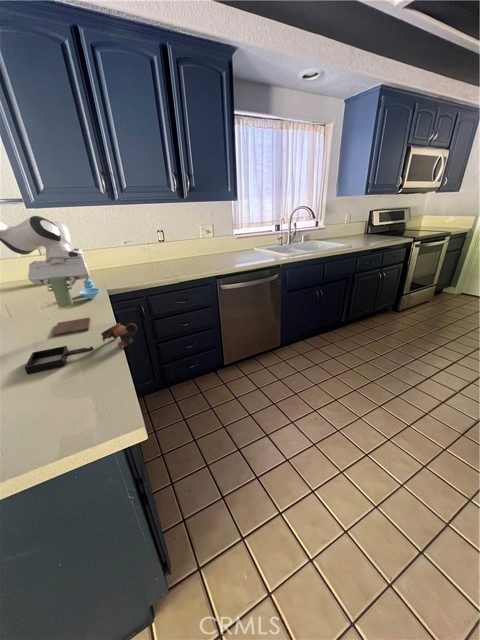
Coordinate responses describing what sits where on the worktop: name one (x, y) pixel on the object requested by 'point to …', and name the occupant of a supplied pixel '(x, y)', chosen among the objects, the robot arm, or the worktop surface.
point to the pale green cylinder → (61, 291)
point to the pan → (50, 365)
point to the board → (72, 326)
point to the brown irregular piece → (121, 333)
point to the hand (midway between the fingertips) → (60, 289)
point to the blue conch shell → (89, 289)
